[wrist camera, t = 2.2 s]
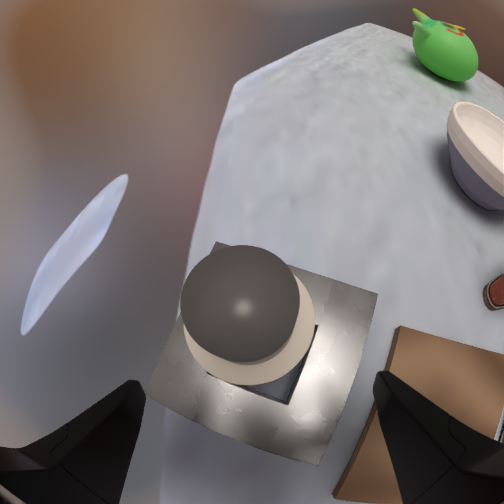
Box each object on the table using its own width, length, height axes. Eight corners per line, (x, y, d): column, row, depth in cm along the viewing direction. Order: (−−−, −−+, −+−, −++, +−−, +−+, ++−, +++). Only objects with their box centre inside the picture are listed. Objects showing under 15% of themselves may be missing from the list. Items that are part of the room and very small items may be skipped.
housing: (311, 454, 15) (317, 465, 12) (161, 393, 18) (143, 393, 15) (365, 306, 19) (377, 293, 17) (223, 259, 22) (216, 241, 20)
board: (462, 496, 9) (467, 498, 8) (332, 494, 13) (334, 498, 12) (506, 358, 15) (512, 356, 14) (395, 328, 18) (400, 325, 17)
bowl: (413, 138, 28) (430, 91, 21) (483, 148, 27) (502, 113, 20) (462, 235, 21) (500, 189, 15) (527, 230, 20) (558, 197, 14)
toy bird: (475, 104, 33) (495, 49, 20) (403, 71, 38) (414, 10, 25) (461, 75, 40) (474, 30, 27) (402, 49, 45) (410, 3, 32)
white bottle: (281, 390, 17) (289, 412, 5) (229, 370, 18) (132, 340, 6) (300, 339, 19) (344, 252, 6) (250, 321, 20) (201, 208, 7)
